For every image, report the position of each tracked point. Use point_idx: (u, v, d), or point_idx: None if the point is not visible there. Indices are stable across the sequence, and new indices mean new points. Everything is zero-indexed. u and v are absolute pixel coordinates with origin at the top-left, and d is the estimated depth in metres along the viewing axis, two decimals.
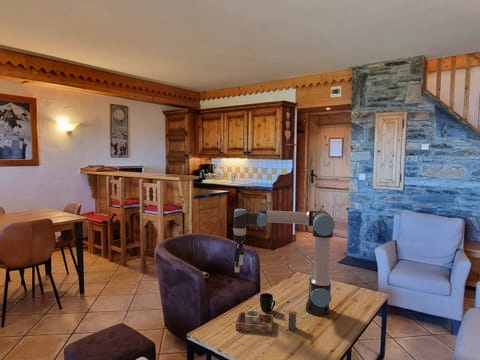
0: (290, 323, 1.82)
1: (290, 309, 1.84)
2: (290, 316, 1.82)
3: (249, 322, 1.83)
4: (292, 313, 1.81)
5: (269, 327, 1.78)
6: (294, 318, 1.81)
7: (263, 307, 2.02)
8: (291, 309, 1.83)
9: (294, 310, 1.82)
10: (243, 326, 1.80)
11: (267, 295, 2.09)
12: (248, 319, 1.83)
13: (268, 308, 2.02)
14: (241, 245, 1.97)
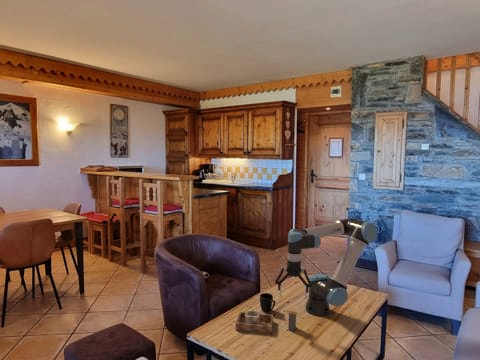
0: (290, 323, 1.82)
1: (290, 309, 1.84)
2: (290, 316, 1.82)
3: (249, 322, 1.83)
4: (292, 313, 1.81)
5: (269, 327, 1.78)
6: (294, 318, 1.81)
7: (263, 307, 2.02)
8: (291, 309, 1.83)
9: (294, 310, 1.82)
10: (243, 326, 1.80)
11: (267, 295, 2.09)
12: (248, 319, 1.83)
13: (268, 308, 2.02)
14: (290, 271, 1.80)
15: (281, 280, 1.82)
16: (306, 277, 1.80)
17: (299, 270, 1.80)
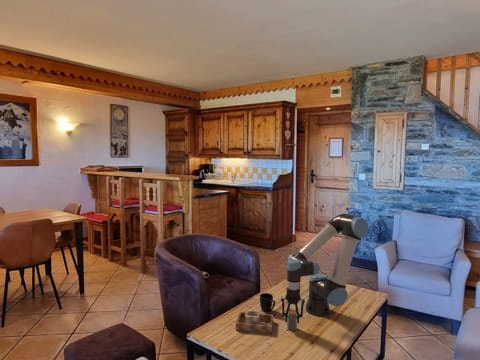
0: (290, 323, 1.82)
1: (290, 309, 1.84)
2: (290, 316, 1.82)
3: (249, 322, 1.83)
4: (292, 313, 1.81)
5: (269, 327, 1.78)
6: (294, 318, 1.81)
7: (263, 307, 2.02)
8: (291, 309, 1.83)
9: (294, 310, 1.82)
10: (243, 326, 1.80)
11: (267, 295, 2.09)
12: (248, 319, 1.83)
13: (268, 308, 2.02)
14: (289, 300, 1.82)
15: (286, 311, 1.83)
16: (301, 307, 1.81)
17: (299, 298, 1.81)
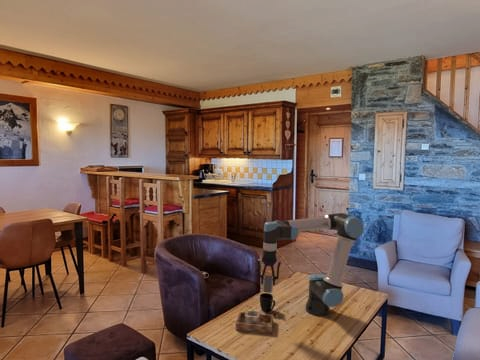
0: (266, 285, 1.82)
1: (266, 271, 1.83)
2: (266, 278, 1.81)
3: (249, 322, 1.83)
4: (268, 275, 1.81)
5: (269, 327, 1.78)
6: (270, 279, 1.81)
7: (263, 307, 2.02)
8: (267, 271, 1.83)
9: (270, 272, 1.82)
10: (243, 326, 1.80)
11: (267, 295, 2.09)
12: (248, 319, 1.83)
13: (268, 308, 2.02)
14: (265, 261, 1.82)
15: (262, 273, 1.82)
16: (277, 269, 1.81)
17: (275, 260, 1.81)
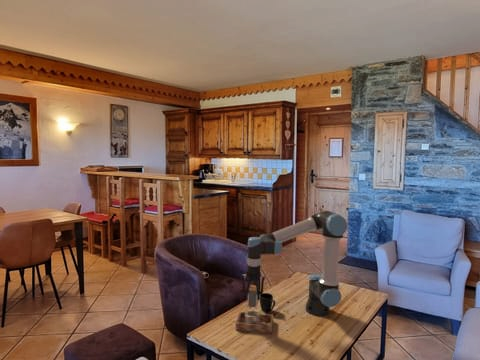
0: (250, 300, 1.84)
1: (251, 286, 1.85)
2: (250, 293, 1.83)
3: (249, 322, 1.83)
4: (252, 290, 1.83)
5: (269, 327, 1.78)
6: (254, 294, 1.83)
7: (263, 307, 2.02)
8: (252, 286, 1.85)
9: (254, 287, 1.84)
10: (243, 326, 1.80)
11: (267, 295, 2.09)
12: (248, 319, 1.83)
13: (268, 308, 2.02)
14: (249, 276, 1.83)
15: (247, 288, 1.84)
16: (261, 284, 1.83)
17: (259, 275, 1.83)
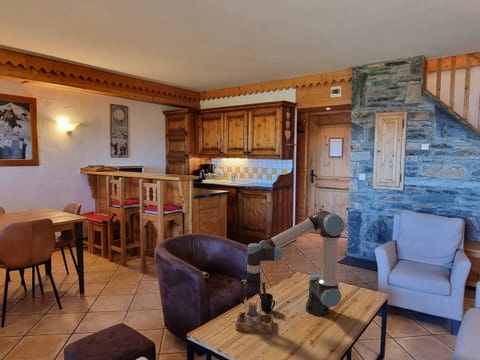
0: (250, 315, 1.84)
1: (250, 301, 1.86)
2: (250, 308, 1.84)
3: (249, 322, 1.83)
4: (252, 305, 1.84)
5: (269, 327, 1.78)
6: (254, 309, 1.84)
7: (263, 307, 2.02)
8: (252, 301, 1.86)
9: (254, 302, 1.85)
10: (243, 326, 1.80)
11: (267, 295, 2.09)
12: (248, 319, 1.83)
13: (268, 308, 2.02)
14: (249, 283, 1.84)
15: (244, 293, 1.85)
16: (263, 290, 1.83)
17: (258, 281, 1.83)
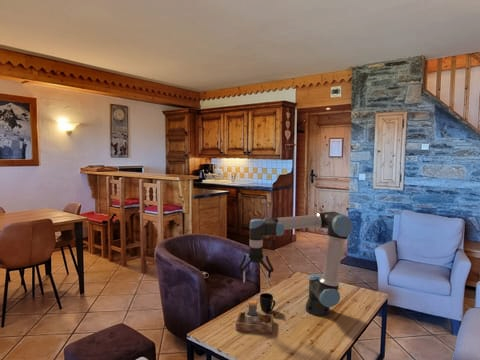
0: (250, 315, 1.84)
1: (250, 301, 1.86)
2: (250, 308, 1.84)
3: (249, 322, 1.83)
4: (252, 305, 1.84)
5: (269, 327, 1.78)
6: (254, 309, 1.84)
7: (263, 307, 2.02)
8: (252, 301, 1.86)
9: (254, 302, 1.85)
10: (243, 326, 1.80)
11: (267, 295, 2.09)
12: (248, 319, 1.83)
13: (268, 308, 2.02)
14: (252, 257, 1.85)
15: (244, 266, 1.86)
16: (268, 262, 1.84)
17: (261, 256, 1.85)
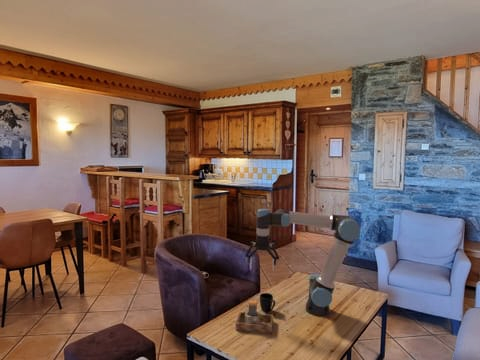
0: (250, 315, 1.84)
1: (250, 301, 1.86)
2: (250, 308, 1.84)
3: (249, 322, 1.83)
4: (252, 305, 1.84)
5: (269, 327, 1.78)
6: (254, 309, 1.84)
7: (263, 307, 2.02)
8: (252, 301, 1.86)
9: (254, 302, 1.85)
10: (243, 326, 1.80)
11: (267, 295, 2.09)
12: (248, 319, 1.83)
13: (268, 308, 2.02)
14: (259, 245, 1.95)
15: (251, 253, 1.96)
16: (274, 250, 1.94)
17: (267, 244, 1.94)
